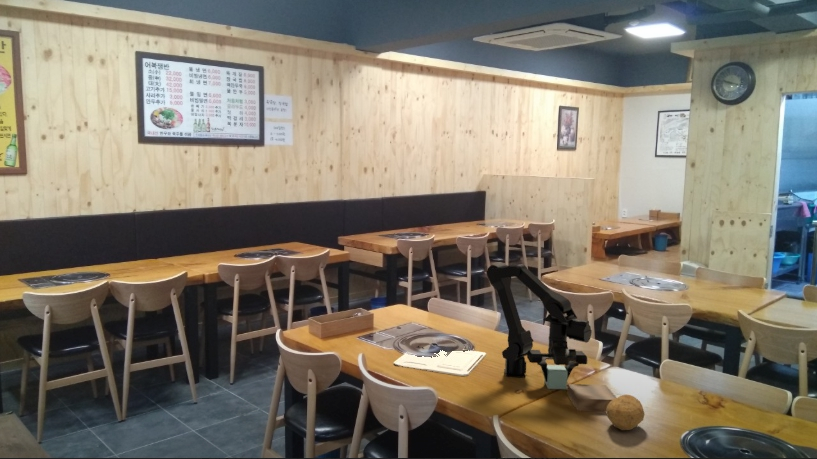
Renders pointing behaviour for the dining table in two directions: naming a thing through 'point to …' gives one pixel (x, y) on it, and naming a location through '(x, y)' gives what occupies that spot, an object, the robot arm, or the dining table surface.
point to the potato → (625, 412)
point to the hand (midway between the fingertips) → (555, 381)
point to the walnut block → (590, 397)
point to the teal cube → (556, 377)
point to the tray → (444, 362)
